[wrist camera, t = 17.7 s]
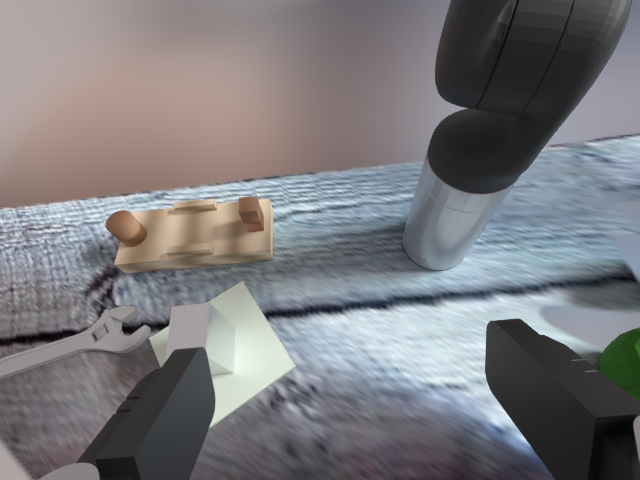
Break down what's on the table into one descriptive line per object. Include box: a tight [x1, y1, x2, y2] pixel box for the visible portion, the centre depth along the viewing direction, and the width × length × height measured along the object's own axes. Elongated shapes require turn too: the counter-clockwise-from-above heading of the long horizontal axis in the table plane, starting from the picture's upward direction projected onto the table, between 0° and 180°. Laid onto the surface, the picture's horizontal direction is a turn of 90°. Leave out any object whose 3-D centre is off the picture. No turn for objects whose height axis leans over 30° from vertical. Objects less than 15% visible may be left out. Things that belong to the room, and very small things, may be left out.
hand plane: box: [106, 196, 273, 274], centre depth 48 cm, size 22×9×8 cm, turn 94°
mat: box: [149, 281, 296, 430], centre depth 43 cm, size 14×14×1 cm
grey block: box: [165, 303, 236, 375], centre depth 38 cm, size 4×6×10 cm
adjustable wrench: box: [0, 306, 150, 380], centre depth 44 cm, size 25×6×2 cm, turn 104°
